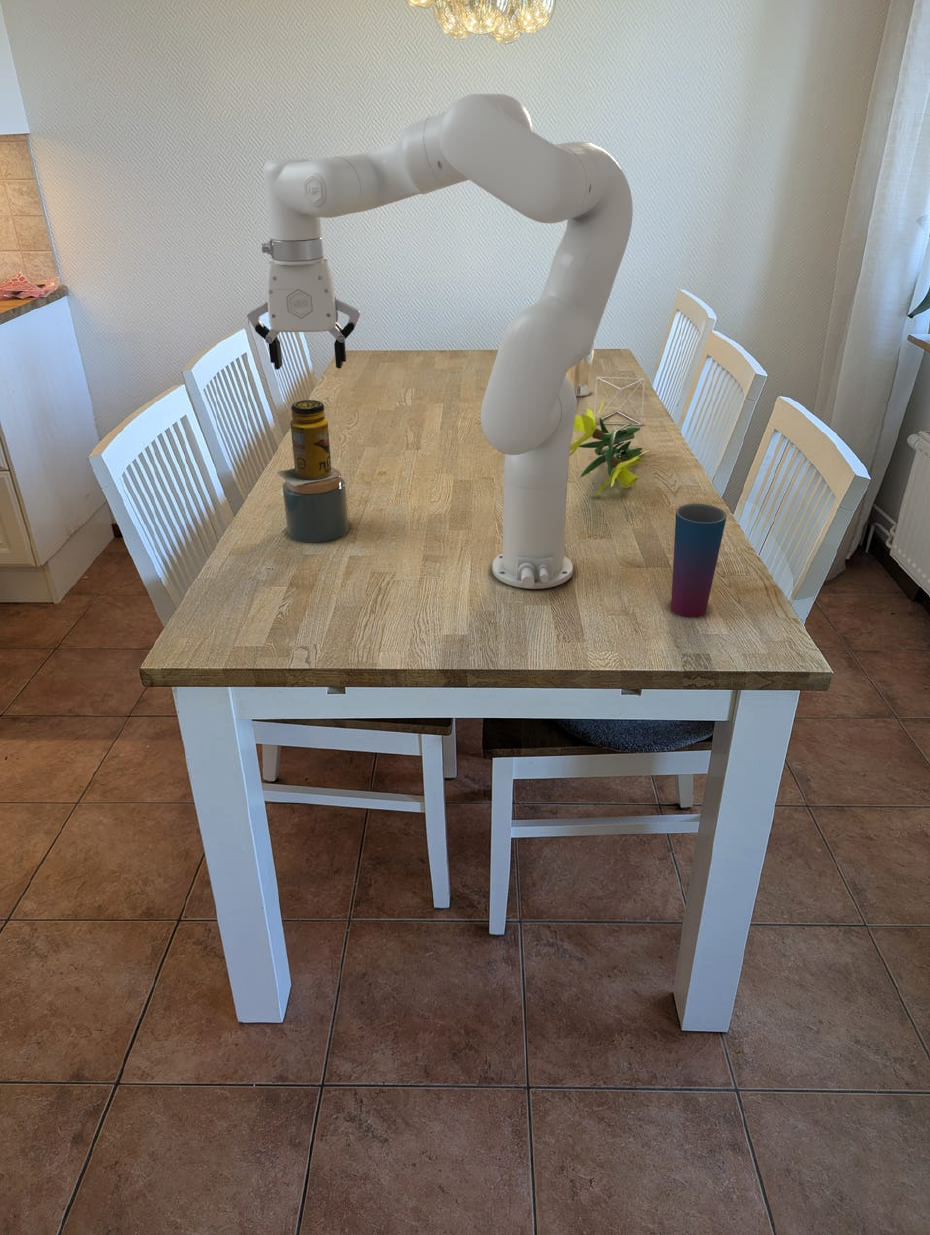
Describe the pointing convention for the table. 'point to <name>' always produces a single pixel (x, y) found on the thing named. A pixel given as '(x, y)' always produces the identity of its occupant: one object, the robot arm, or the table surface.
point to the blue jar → (316, 510)
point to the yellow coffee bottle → (309, 444)
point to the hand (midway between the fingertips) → (309, 366)
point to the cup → (695, 556)
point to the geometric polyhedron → (616, 395)
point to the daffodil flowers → (611, 454)
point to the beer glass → (581, 374)
